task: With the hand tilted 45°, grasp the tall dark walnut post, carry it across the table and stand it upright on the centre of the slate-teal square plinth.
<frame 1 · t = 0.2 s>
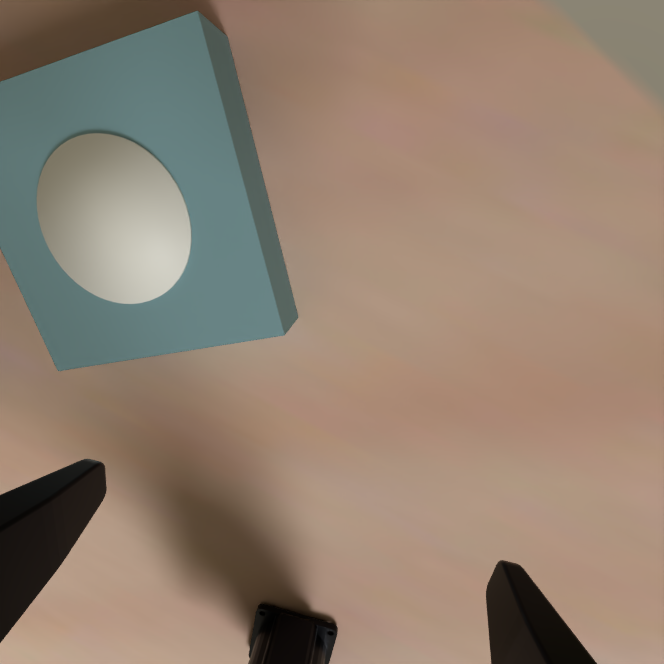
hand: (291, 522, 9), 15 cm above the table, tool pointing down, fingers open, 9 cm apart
plinth: (150, 219, 22), on the table
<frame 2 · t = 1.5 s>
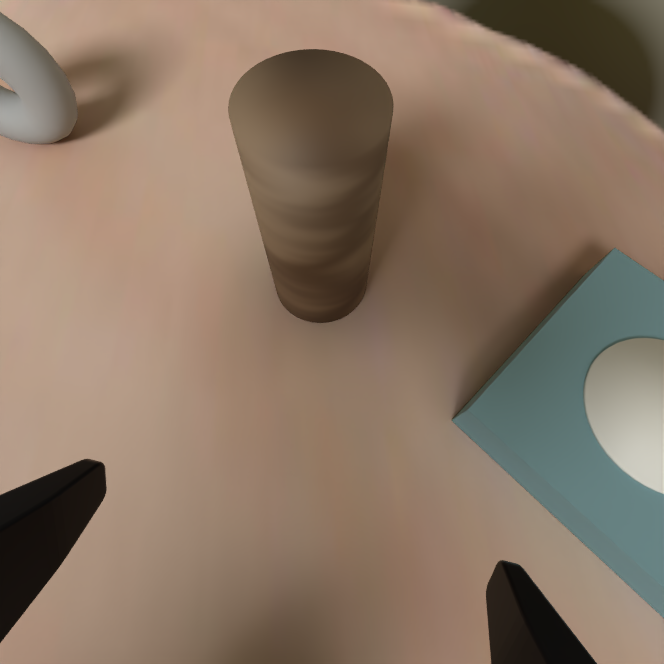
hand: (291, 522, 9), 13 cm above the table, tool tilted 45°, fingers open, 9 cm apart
donut: (44, 140, 32), on the table
plinth: (624, 423, 23), on the table
walnut post: (321, 281, 27), on the table
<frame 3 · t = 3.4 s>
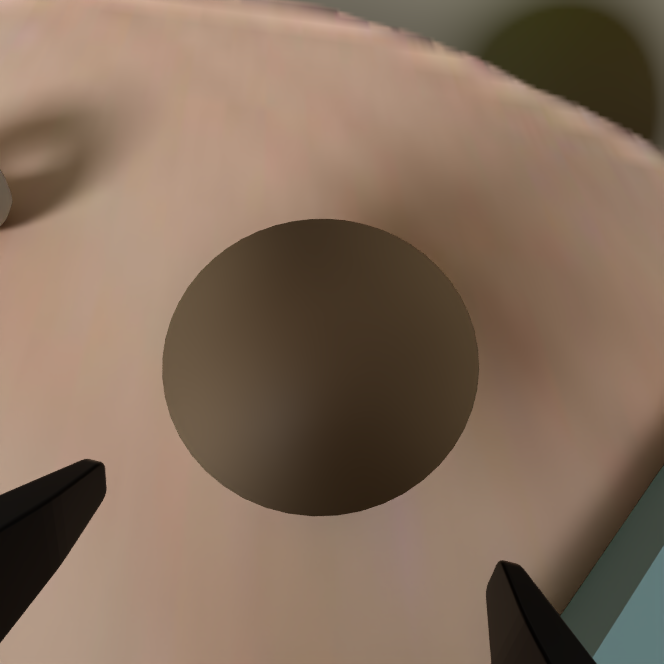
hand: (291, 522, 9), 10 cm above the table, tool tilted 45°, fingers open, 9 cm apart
walnut post: (326, 443, 20), on the table
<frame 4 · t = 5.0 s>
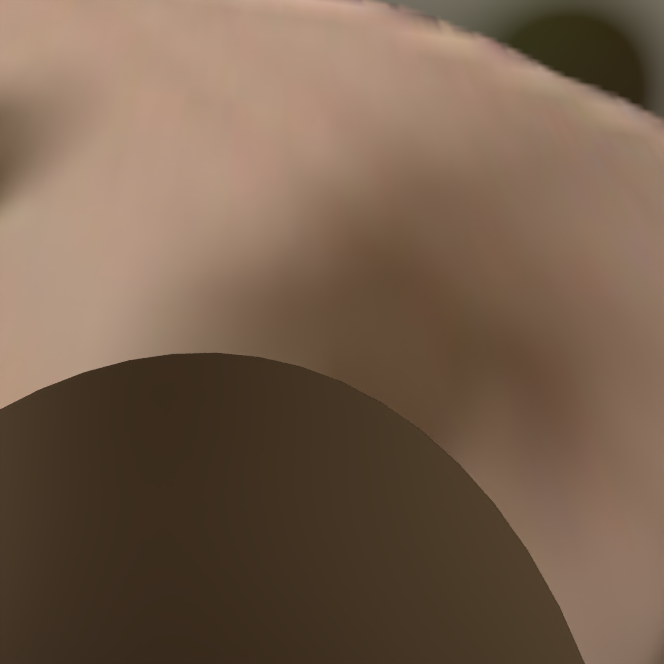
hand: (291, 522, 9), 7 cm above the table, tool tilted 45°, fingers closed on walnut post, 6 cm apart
walnut post: (297, 556, 14), on the table, touching gripper
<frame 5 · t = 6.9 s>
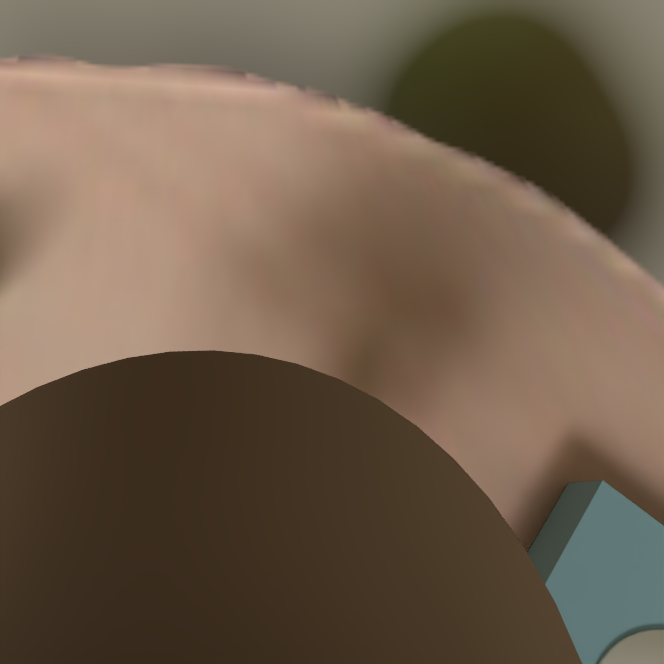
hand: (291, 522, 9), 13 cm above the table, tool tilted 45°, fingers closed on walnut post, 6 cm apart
walnut post: (297, 555, 14), point 7 cm above the table, touching gripper
when the fingers open (11 cm above the table, at t = 9.1 s): walnut post drops 1 cm, resting on plinth.
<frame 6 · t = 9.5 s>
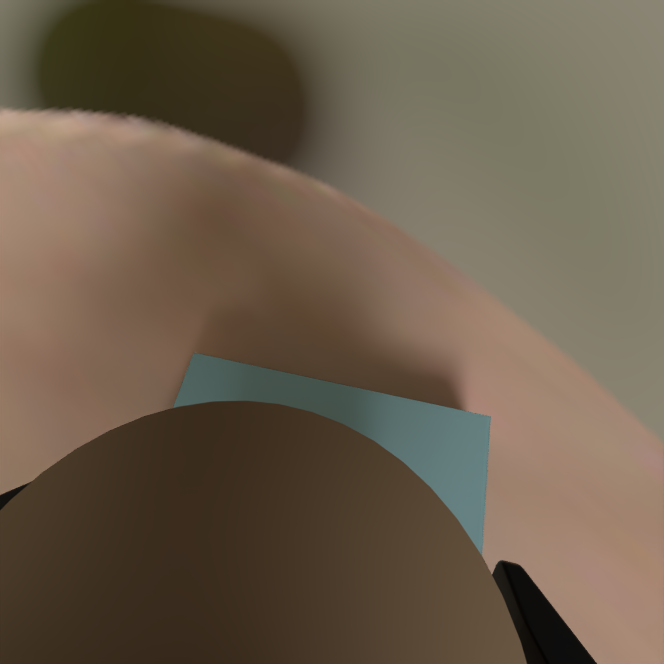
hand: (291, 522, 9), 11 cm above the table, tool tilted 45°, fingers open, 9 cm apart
plinth: (304, 544, 18), on the table
walnut post: (299, 553, 16), point 3 cm above the table, touching plinth
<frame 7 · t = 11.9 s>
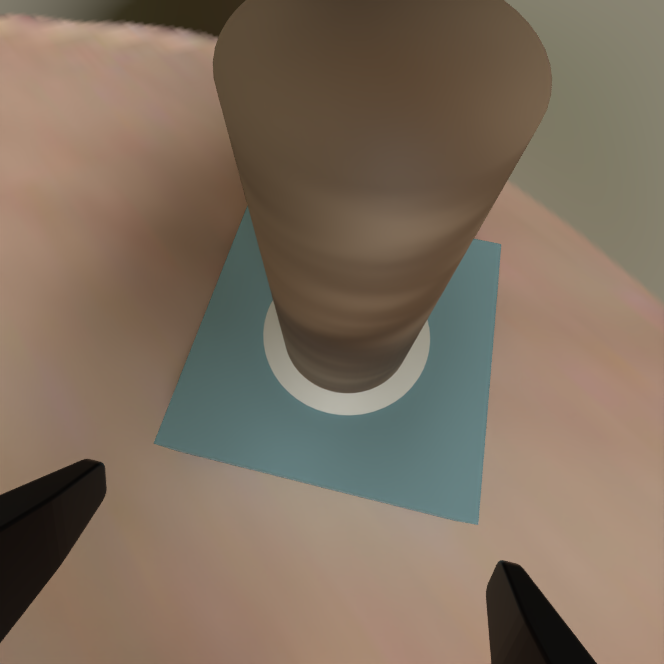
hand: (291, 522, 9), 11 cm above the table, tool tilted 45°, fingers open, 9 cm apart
plinth: (343, 353, 22), on the table
walnut post: (346, 331, 19), point 3 cm above the table, touching plinth
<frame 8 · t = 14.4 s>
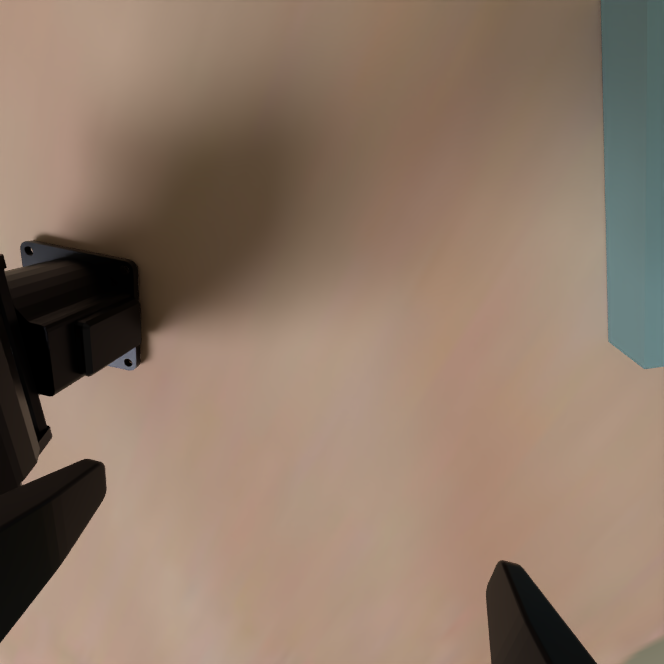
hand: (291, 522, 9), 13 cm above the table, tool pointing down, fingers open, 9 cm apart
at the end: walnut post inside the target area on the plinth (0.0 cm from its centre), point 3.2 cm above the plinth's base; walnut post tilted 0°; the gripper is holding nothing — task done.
